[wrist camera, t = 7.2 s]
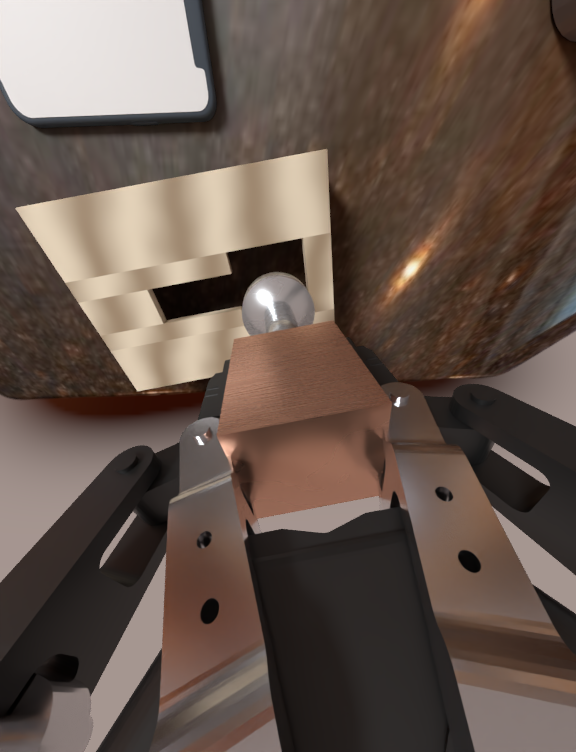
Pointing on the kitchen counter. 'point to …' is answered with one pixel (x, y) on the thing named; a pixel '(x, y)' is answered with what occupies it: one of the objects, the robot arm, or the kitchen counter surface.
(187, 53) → the smartphone
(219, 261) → the keyhole plate
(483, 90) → the kitchen counter surface
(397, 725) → the robot arm
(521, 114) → the kitchen counter surface
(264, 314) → the footed peg
